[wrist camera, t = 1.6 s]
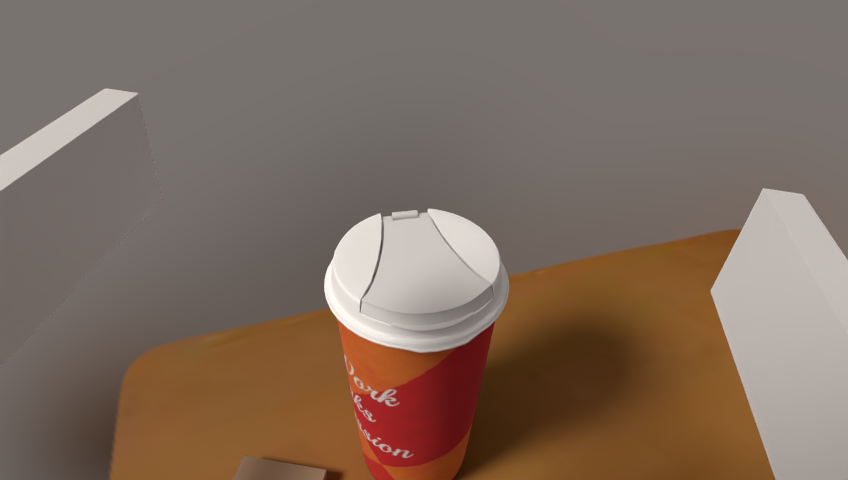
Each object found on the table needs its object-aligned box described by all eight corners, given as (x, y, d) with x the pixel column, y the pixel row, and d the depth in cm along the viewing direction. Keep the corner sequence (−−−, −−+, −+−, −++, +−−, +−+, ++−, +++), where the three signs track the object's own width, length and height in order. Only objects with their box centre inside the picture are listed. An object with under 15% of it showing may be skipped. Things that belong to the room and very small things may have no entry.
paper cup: (339, 401, 35) (316, 209, 26) (464, 382, 36) (483, 193, 27) (351, 532, 29) (328, 340, 20) (501, 504, 30) (541, 312, 21)
